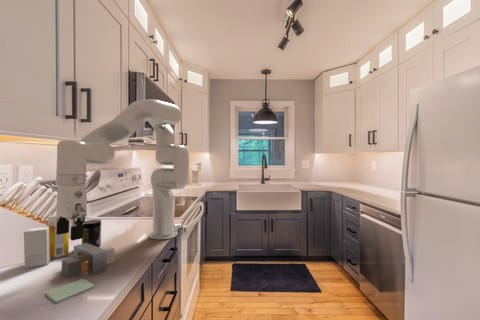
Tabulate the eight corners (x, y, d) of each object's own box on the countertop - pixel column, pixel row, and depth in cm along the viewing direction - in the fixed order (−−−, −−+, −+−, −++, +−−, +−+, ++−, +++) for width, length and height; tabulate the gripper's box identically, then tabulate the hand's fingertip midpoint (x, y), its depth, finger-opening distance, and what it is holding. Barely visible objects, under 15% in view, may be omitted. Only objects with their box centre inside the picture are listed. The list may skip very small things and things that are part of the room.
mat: (82, 280, 70) (82, 278, 70) (94, 287, 66) (95, 285, 66) (45, 294, 62) (45, 292, 62) (56, 303, 58) (56, 301, 58)
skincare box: (50, 260, 83) (50, 225, 83) (47, 265, 79) (47, 229, 79) (27, 263, 80) (27, 228, 80) (23, 269, 76) (23, 231, 76)
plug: (107, 258, 85) (107, 246, 85) (114, 261, 82) (114, 248, 82) (61, 274, 73) (61, 259, 73) (68, 278, 71) (68, 263, 71)
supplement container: (95, 250, 93) (96, 223, 93) (77, 250, 92) (77, 223, 92) (104, 244, 100) (104, 219, 100) (87, 244, 99) (87, 219, 99)
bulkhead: (86, 261, 83) (86, 242, 83) (106, 270, 76) (106, 250, 76) (73, 265, 79) (73, 246, 79) (92, 275, 72) (93, 254, 72)
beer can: (65, 251, 91) (65, 212, 91) (70, 255, 88) (70, 214, 88) (45, 256, 87) (46, 215, 87) (50, 260, 83) (50, 217, 83)
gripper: (98, 181, 72) (96, 238, 71) (72, 178, 81) (70, 229, 81) (70, 182, 65) (68, 245, 65) (45, 179, 75) (43, 234, 74)
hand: (69, 236), depth 73 cm, fingers open, 9 cm apart
